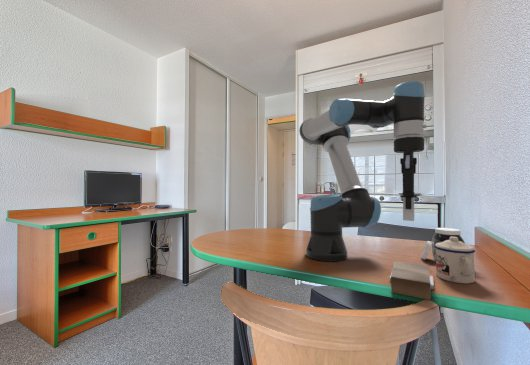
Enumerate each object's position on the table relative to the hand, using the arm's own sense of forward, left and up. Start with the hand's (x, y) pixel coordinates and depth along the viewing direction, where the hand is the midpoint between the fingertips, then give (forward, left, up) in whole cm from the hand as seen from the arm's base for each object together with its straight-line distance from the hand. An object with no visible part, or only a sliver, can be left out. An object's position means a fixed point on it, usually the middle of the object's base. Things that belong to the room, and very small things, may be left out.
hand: (408, 220), depth 70 cm
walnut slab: (0, -4, -13) cm, 14 cm away
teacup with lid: (+11, +5, -17) cm, 21 cm away
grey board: (0, -2, -16) cm, 17 cm away
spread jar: (+8, +23, -17) cm, 29 cm away
